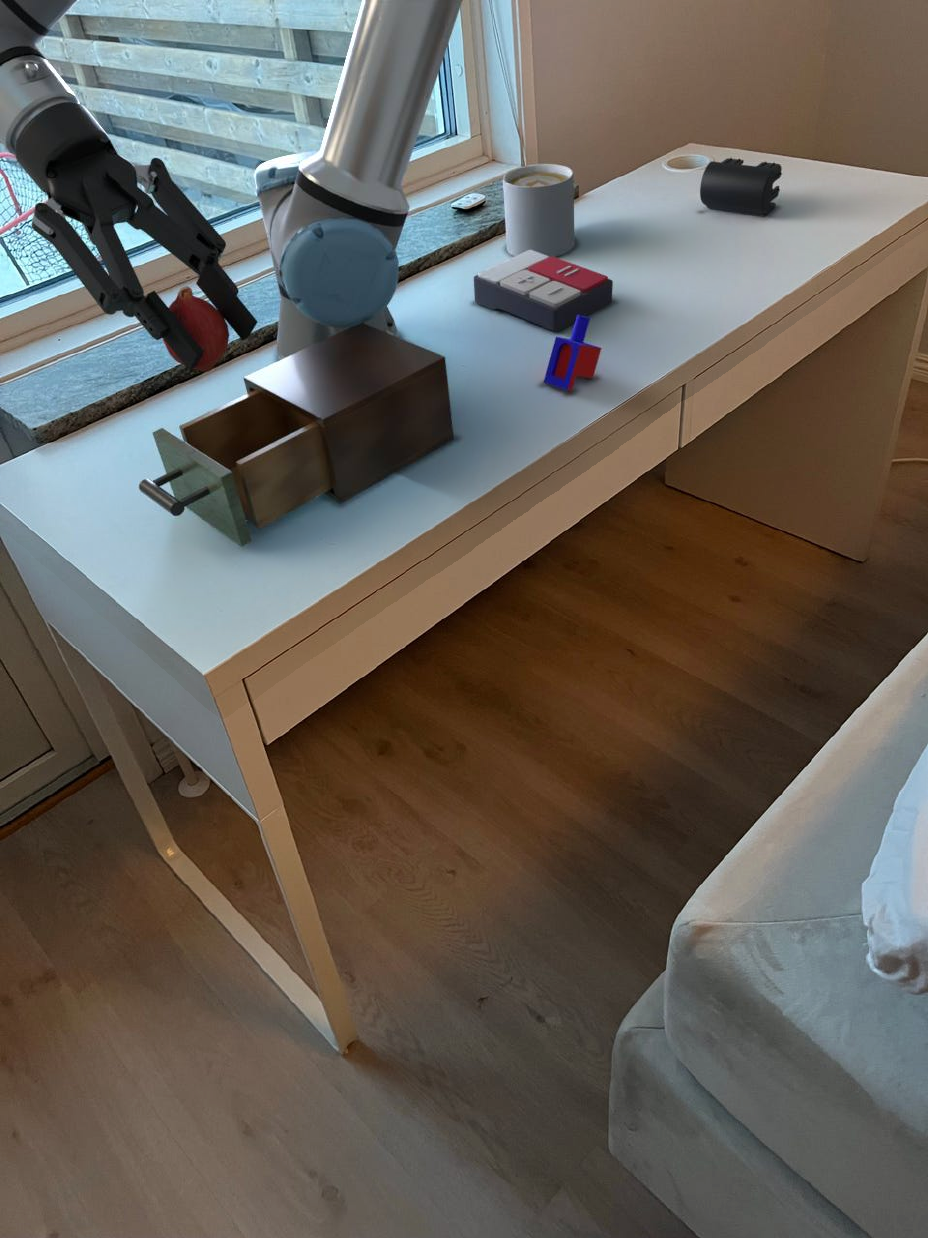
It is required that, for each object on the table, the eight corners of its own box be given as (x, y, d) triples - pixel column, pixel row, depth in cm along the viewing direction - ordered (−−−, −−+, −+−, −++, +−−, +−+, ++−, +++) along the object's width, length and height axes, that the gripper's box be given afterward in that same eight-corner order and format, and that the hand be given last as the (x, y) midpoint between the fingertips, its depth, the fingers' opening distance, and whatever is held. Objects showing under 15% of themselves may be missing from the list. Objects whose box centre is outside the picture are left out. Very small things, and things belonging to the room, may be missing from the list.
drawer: (204, 568, 89) (179, 498, 83) (138, 518, 96) (112, 450, 91) (361, 480, 97) (348, 411, 92) (290, 439, 105) (274, 374, 99)
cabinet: (340, 504, 96) (322, 419, 90) (264, 457, 104) (242, 377, 98) (454, 439, 103) (445, 356, 97) (374, 400, 111) (361, 321, 105)
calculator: (556, 304, 118) (471, 270, 126) (555, 337, 120) (473, 302, 129) (614, 274, 123) (529, 243, 131) (613, 306, 126) (530, 274, 134)
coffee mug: (546, 264, 137) (544, 191, 130) (493, 251, 142) (488, 180, 135) (601, 232, 144) (601, 161, 137) (548, 221, 149) (546, 153, 142)
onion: (203, 391, 87) (176, 307, 81) (162, 377, 90) (135, 294, 84) (250, 364, 90) (228, 281, 85) (210, 351, 93) (186, 269, 87)
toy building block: (588, 392, 111) (608, 323, 108) (567, 391, 108) (587, 318, 105) (564, 384, 113) (584, 315, 110) (543, 382, 110) (562, 311, 107)
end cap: (697, 214, 146) (700, 167, 141) (717, 199, 150) (721, 152, 145) (760, 223, 141) (766, 174, 136) (780, 207, 145) (785, 159, 140)
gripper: (-47, 131, 75) (151, 370, 77) (143, 70, 85) (311, 282, 88) (-52, 193, 81) (131, 412, 84) (125, 129, 91) (283, 325, 94)
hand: (223, 345), depth 86 cm, fingers closed on onion, 6 cm apart
